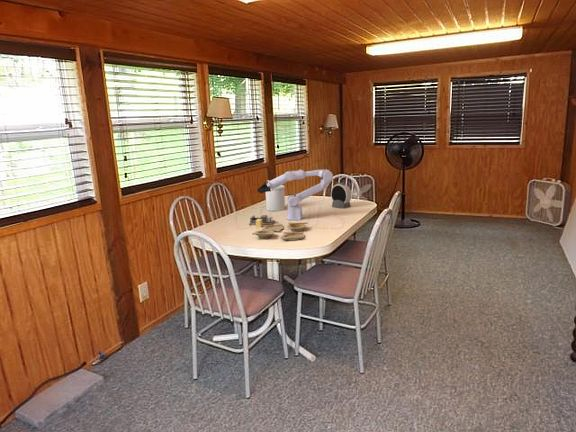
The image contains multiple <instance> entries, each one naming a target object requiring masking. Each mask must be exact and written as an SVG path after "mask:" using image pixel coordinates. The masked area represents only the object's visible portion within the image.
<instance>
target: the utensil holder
mask: <svg viewBox="0 0 576 432" xmlns="http://www.w3.org/2000/svg"><path fill="white" fill-rule="evenodd" d="M285 188H286V187H285V185H284V184H282V185H280V186H278V187H276V188H274V189H273V190H272V189H270V190H271V191H269V192H265V206H266V207H265V208H266V210H267V211H269V212H280V211H284V210H285V207H286V206H285V205H286V203H285V202H286V199H285V193H286V192H285Z"/></svg>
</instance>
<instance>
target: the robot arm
mask: <svg viewBox="0 0 576 432" xmlns="http://www.w3.org/2000/svg"><path fill="white" fill-rule="evenodd" d="M315 176H317V177H320V179H321V180H320V182H319V183H317V184H315V185H313V186H311V187H309V188H307V189H305V190H303V191H301V192H299V193H296V194H290V195H289V196H288V198H287V202H288V204H287V218H286V220H287V221H291V220H292V221H300V220H302V218H303V208H302V207H303V206H302V205H299V203H301V202H302V201H303V200H305V199H307V198H309V197H311V196H313V195H315V194H317V193H320V192H322V191H324V190H326V189H327V188H328V186H329V185H330V183H331V182H332V181H333V177H334V176H333V172H331V171H330V169H314V170H310V171H305V170H303V169H298V170H289V171H286V172H285V173H283V174H282V175H279V176H277V177H275V178H273V179H271V180H268V179H267V182H266V181H265V182H264V183H263V184H262V185H260V186H259V187H258V188H257V190H256V191H257V192H258V193H260V194H263V193H266V192H269V191H271V190H270V189H272V190H273V189H274V188H276V187H278V186H280V185H284V184H286V183H287V182H292V181H293V180H294V181H295V180H296V181H297V180H303V179H305V178H306V177H315Z"/></svg>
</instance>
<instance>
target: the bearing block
mask: <svg viewBox="0 0 576 432" xmlns="http://www.w3.org/2000/svg"><path fill="white" fill-rule="evenodd" d="M265 217H268V214H263V215H261V216H260V217H259V218H260V219H262V223H266V220H265Z"/></svg>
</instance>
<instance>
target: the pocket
mask: <svg viewBox="0 0 576 432" xmlns="http://www.w3.org/2000/svg"><path fill="white" fill-rule="evenodd" d="M257 219H260V217H256V216H255V215H252V216H251V217H249V220H250V222H249V223H256V220H257Z"/></svg>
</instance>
